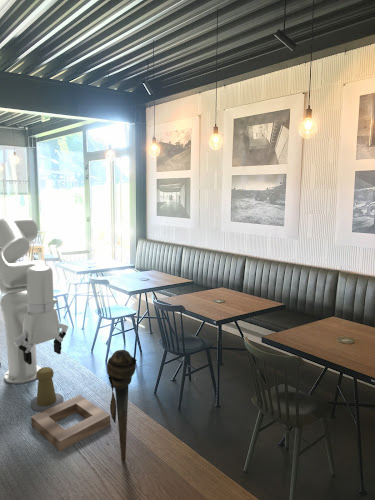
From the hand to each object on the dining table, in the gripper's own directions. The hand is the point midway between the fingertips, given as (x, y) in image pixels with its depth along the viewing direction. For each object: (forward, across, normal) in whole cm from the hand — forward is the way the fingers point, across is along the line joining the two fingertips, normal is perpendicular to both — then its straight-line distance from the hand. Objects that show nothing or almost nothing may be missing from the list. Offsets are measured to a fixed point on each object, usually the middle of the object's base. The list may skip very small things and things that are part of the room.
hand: (43, 357), depth 123 cm
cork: (+15, 0, +1) cm, 15 cm away
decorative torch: (+14, 0, +40) cm, 43 cm away
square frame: (+14, +1, +18) cm, 23 cm away
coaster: (+15, 0, +2) cm, 15 cm away
